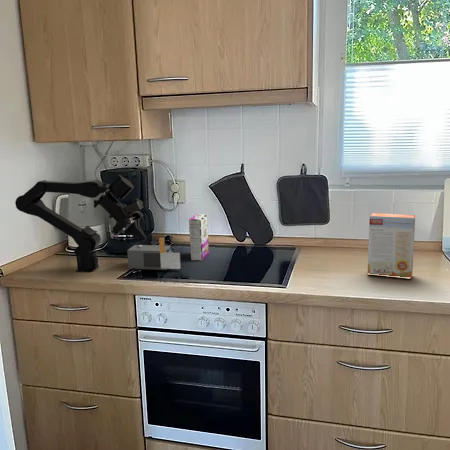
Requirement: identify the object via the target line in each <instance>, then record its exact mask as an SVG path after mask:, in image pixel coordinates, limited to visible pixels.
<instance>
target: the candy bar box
mask: <svg viewBox="0 0 450 450" xmlns="http://www.w3.org/2000/svg"><path fill="white" fill-rule="evenodd" d="M208 221H209V220H208V214H206V213H196V214H195V215H193V216H191V218H189V219H188V225H189V228H188V231H189V247H190V261H198V262H199V261H200V262H202V261H203V260H205V259H206V257H207V256H208V255H209V254H210V251H209V250H210V249H209V248H210V247H209V246H210V245H209V227H208V226H209V225H208Z"/></svg>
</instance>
